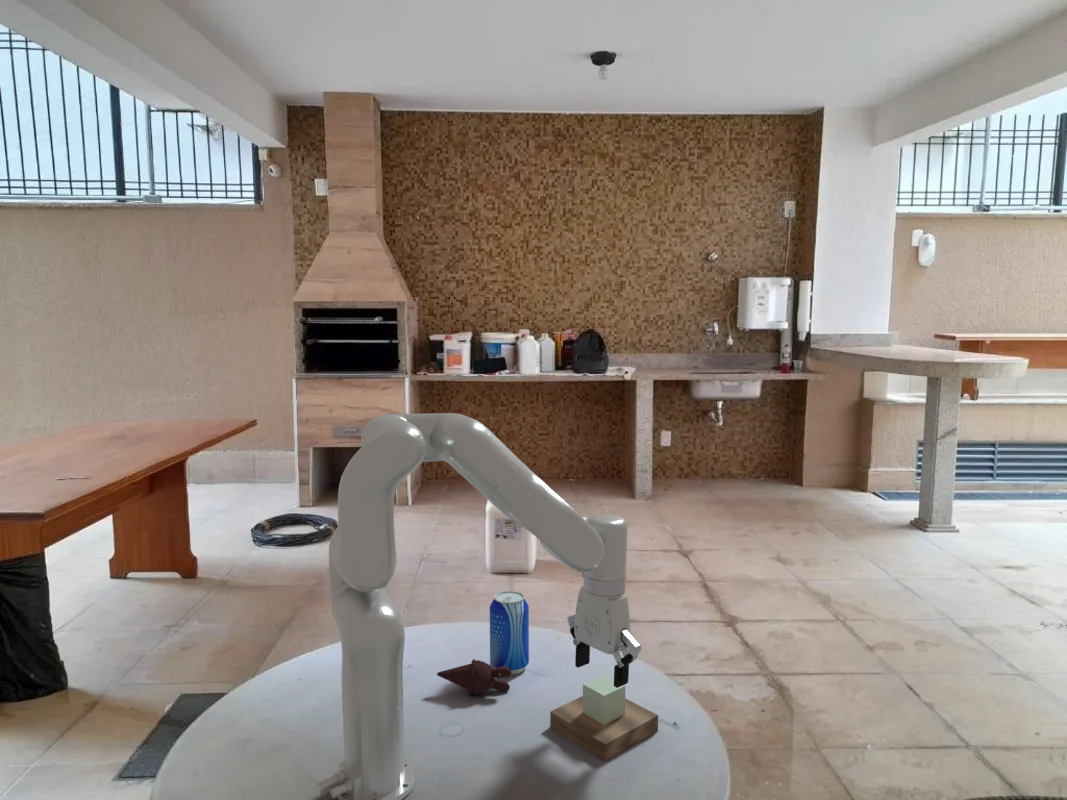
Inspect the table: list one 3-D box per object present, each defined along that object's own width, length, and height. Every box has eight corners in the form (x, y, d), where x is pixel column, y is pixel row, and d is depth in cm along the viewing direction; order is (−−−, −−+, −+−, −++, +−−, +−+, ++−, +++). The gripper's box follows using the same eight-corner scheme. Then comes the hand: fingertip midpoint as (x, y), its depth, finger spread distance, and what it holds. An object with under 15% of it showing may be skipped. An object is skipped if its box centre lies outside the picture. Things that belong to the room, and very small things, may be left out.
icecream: (434, 672, 144) (510, 679, 144) (440, 647, 151) (513, 653, 151) (433, 700, 146) (508, 707, 146) (439, 674, 153) (510, 680, 153)
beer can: (484, 663, 161) (483, 593, 160) (519, 655, 165) (519, 587, 163) (498, 680, 154) (498, 606, 152) (535, 671, 157) (535, 600, 155)
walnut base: (605, 760, 126) (605, 744, 125) (550, 726, 136) (550, 711, 136) (657, 730, 135) (658, 715, 134) (602, 700, 145) (602, 686, 145)
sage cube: (604, 724, 131) (604, 695, 131) (582, 712, 135) (582, 684, 135) (625, 714, 135) (625, 685, 134) (603, 702, 139) (603, 674, 138)
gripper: (556, 575, 136) (554, 663, 138) (626, 603, 123) (622, 700, 125) (585, 567, 141) (582, 652, 143) (655, 593, 128) (651, 686, 130)
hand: (601, 674), depth 134 cm, fingers open, 9 cm apart
